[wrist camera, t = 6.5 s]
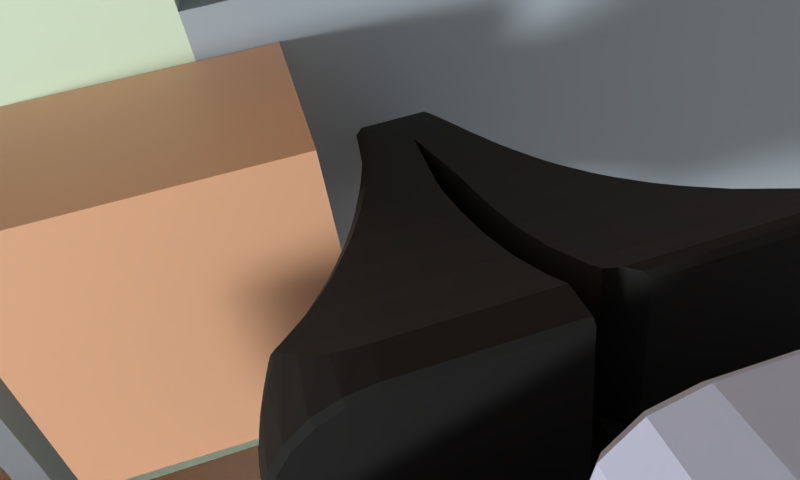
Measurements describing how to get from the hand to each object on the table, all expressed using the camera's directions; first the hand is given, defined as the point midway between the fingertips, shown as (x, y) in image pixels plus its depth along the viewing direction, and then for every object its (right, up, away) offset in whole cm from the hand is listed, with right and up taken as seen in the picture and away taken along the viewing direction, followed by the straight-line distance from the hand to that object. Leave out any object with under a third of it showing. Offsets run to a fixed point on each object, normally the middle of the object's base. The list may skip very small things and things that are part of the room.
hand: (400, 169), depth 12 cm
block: (-4, 0, 0) cm, 4 cm away
